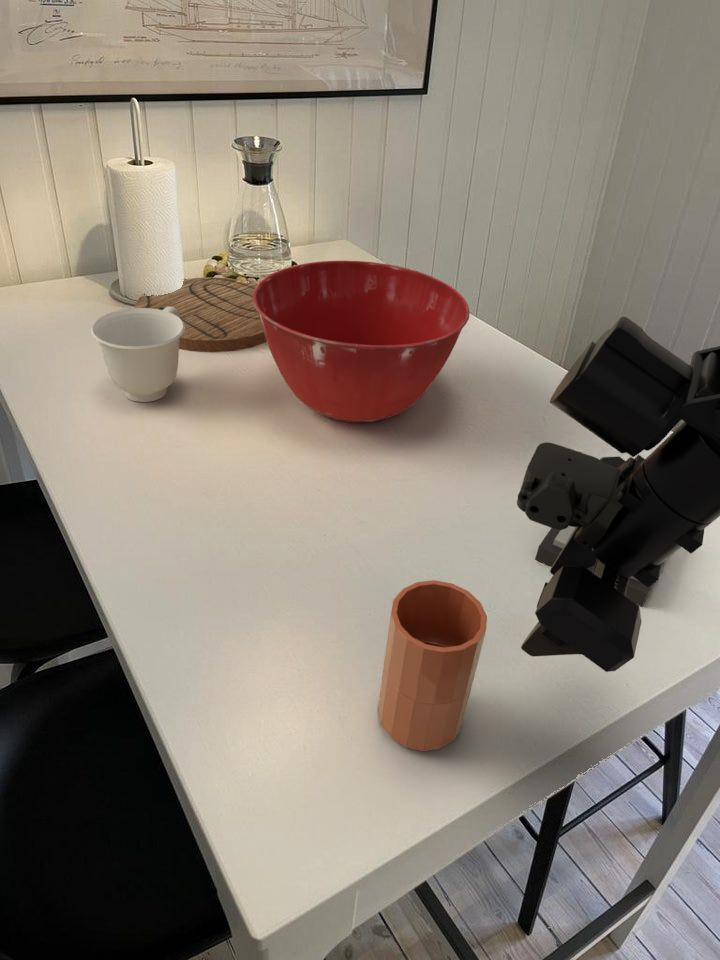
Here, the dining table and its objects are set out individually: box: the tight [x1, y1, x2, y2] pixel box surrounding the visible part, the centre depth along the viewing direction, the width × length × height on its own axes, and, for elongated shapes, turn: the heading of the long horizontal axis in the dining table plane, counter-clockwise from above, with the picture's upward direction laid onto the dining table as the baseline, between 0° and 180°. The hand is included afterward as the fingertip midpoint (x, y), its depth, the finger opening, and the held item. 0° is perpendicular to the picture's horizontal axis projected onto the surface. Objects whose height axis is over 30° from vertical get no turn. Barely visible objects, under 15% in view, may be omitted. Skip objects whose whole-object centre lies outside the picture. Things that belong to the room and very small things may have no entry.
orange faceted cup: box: [377, 579, 488, 752], centre depth 62 cm, size 7×7×13 cm
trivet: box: [134, 276, 267, 353], centre depth 126 cm, size 25×25×2 cm
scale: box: [534, 526, 664, 608], centre depth 84 cm, size 12×12×3 cm
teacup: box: [90, 307, 185, 403], centre depth 104 cm, size 12×15×10 cm
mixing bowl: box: [253, 260, 470, 424], centre depth 104 cm, size 28×28×16 cm
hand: (541, 610), depth 59 cm, fingers open, 9 cm apart
